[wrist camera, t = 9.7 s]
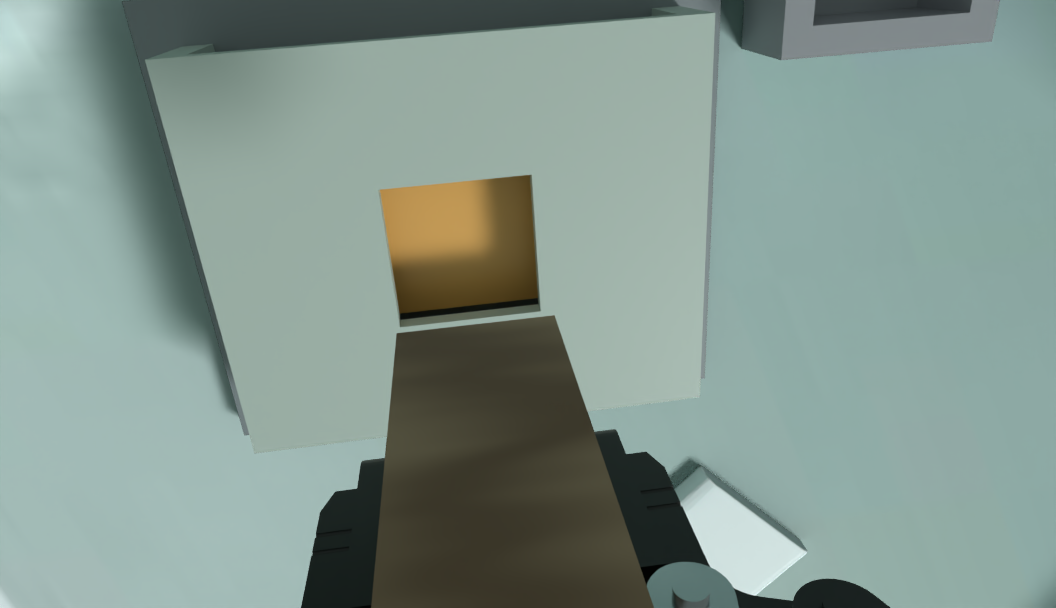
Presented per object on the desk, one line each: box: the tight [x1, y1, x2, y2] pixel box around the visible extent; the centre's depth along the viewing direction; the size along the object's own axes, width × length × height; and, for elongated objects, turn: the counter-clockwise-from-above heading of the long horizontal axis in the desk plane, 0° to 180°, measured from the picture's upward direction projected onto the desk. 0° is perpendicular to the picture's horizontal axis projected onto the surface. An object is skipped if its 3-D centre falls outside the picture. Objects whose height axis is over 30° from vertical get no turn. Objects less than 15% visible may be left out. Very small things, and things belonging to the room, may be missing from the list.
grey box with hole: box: [122, 0, 721, 453], centre depth 27 cm, size 20×17×5 cm
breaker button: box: [380, 175, 538, 314], centre depth 28 cm, size 6×6×1 cm
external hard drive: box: [674, 466, 807, 596], centre depth 39 cm, size 2×8×12 cm
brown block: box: [371, 315, 654, 608], centre depth 13 cm, size 4×4×9 cm
